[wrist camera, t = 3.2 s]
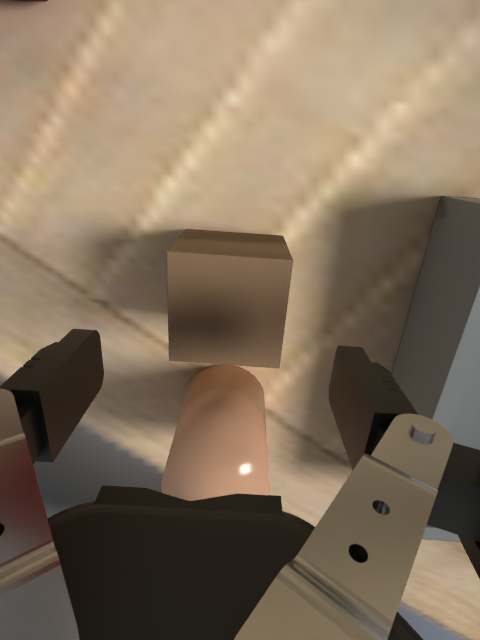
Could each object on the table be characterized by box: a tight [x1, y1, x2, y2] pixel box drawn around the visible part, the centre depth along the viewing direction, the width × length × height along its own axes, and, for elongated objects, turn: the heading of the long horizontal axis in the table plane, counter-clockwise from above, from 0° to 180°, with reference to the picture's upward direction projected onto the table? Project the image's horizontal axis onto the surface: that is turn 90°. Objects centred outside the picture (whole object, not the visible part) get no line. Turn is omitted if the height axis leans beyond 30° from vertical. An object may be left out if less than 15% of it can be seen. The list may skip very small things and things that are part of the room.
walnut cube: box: [167, 229, 293, 368], centre depth 18 cm, size 5×5×5 cm
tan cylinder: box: [161, 365, 269, 501], centre depth 20 cm, size 5×5×7 cm
